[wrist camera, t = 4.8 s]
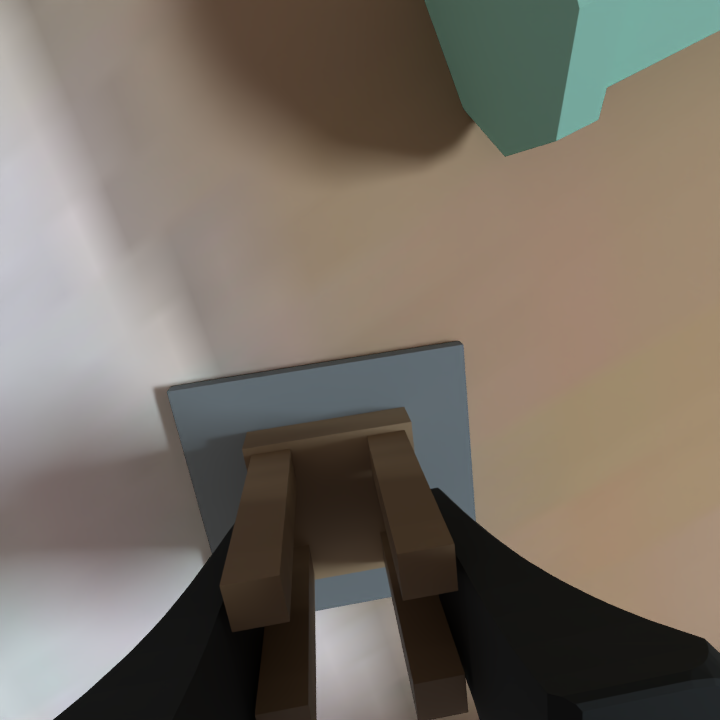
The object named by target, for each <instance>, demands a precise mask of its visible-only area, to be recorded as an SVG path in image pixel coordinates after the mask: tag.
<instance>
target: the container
mask: <svg viewBox="0 0 720 720" xmlns="http://www.w3.org/2000/svg"><path fill="white" fill-rule="evenodd" d="M424 1H425V4H426V6H427V9H428V12H429V15H430V17H431V20H432V23H433V26H434V29H435V31H436V34H437V37H438V40H439V42H440V45H441V48H442V51H443V53H444V56H445V59H446V62H447V65H448V67H449V70H450V73H451V76H452V78H453V81H454V84H455V87H456V89H457V92H458V95H459V98H460V101H461V103H462V106H463V109H464V110H465V111H466V112H467V114H468V115H469V116H470V117H471V118H472V119H473V120H474V122H475V123H476V124H477V125H478V126H479V127H480V128H481V130H482V131H483V132H484V133H485V134H486V135H487V137H488V138H489V139H490V140H491V141H492V142H493V143H494V145H495V146H496V147H497V148H498V149H499V150H500V151H501V153H502V154H503V155H504V156H505V157H506V156H509V155H512V154H515V153H519V152H522V151H525V150H529V149H532V148H535V147H538V146H542V145H545V144H548V143H551V142H555V141H557V140H559V139H561V138H563V137H565V136H567V135H569V134H571V133H573V132H575V131H577V130H579V129H581V128H583V127H585V126H587V125H589V124H591V123H593V122H595V121H597V120H598V119H599V115H600V112H601V108H602V104H603V100H604V96H605V93H606V89H607V87H609V86H611V85H613V84H615V83H617V82H619V81H621V80H623V79H625V78H627V77H629V76H631V75H633V74H635V73H637V72H639V71H640V70H642V69H644V68H646V67H648V66H650V65H652V64H654V63H656V62H658V61H660V60H662V59H664V58H666V57H668V56H670V55H672V54H674V53H676V52H678V51H680V50H682V49H684V48H686V47H688V46H690V45H692V44H694V43H696V42H698V41H700V40H702V39H704V38H705V37H707V36H709V35H711V34H713V33H715V32H717V31H719V30H720V0H424Z"/></svg>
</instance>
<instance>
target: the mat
mask: <svg viewBox="0 0 720 720" xmlns="http://www.w3.org/2000/svg"><path fill="white" fill-rule="evenodd" d="M167 394H168V397H169V401H170V405H171V408H172V412H173V415H174V419H175V423H176V426H177V430H178V433H179V437H180V441H181V444H182V448H183V451H184V455H185V458H186V462H187V466H188V469H189V473H190V476H191V480H192V484H193V487H194V491H195V494H196V498H197V502H198V505H199V509H200V512H201V516H202V519H203V523H204V527H205V530H206V534H207V537H208V541H209V545H210V548H211V552H212V554H213V552H214V551H215V550H216V548H217V547H218V545H219V544H220V542H221V541H222V540H223V538H224V537H225V535H226V534H227V532H228V531H229V530H230V528H231V527H232V526H233V524H234V523H235V520H236V516H237V512H238V508H239V504H240V500H241V496H242V491H243V487H244V483H245V479H246V475H247V469H246V465H245V460H244V456H243V452H242V448H243V444H244V441H245V437H246V434H247V432H251V431H257V430H263V429H270V428H276V427H282V426H288V425H294V424H301V423H307V422H313V421H319V420H325V419H332V418H338V417H344V416H350V415H357V414H363V413H369V412H375V411H381V410H388V409H394V408H400V407H404V408H405V410H406V412H407V414H408V416H409V418H410V420H411V423H412V432H413V442H414V451H415V455H416V457H417V459H418V462H419V464H420V466H421V469H422V471H423V473H424V475H425V478H426V480H427V482H428V485H429V487H430V489H432V488H439V489H441V490H442V491H443V492H444V493H445V494H446V495H447V496H448V497H449V498H450V499H451V500H452V501H453V502H454V503H455V504H457V505H458V506H459V507H460V508H461V509H462V510H463V511H464V512H465V513H466V514H468V515H469V516H470V517H471V518H472V519H473V520H474V521H476V519H475V505H474V490H473V476H472V462H471V447H470V433H469V419H468V405H467V390H466V376H465V362H464V347H463V344H462V343H461V342H460V341H454V342H448V343H442V344H436V345H429V346H423V347H417V348H410V349H404V350H398V351H392V352H385V353H379V354H373V355H366V356H360V357H354V358H347V359H341V360H335V361H329V362H322V363H316V364H310V365H303V366H297V367H291V368H284V369H278V370H272V371H266V372H259V373H253V374H247V375H240V376H234V377H228V378H222V379H215V380H209V381H203V382H196V383H190V384H184V385H177V386H171V387H170V389H169V390H168V391H167ZM387 597H392V596H391V591H390V587H389V582H388V577H387V573H386V568H385V567H383V568H377V569H372V570H366V571H361V572H355V573H350V574H344V575H338V576H333V577H327V578H322V579H316V580H315V611H318V610H323V609H329V608H334V607H339V606H345V605H350V604H355V603H361V602H366V601H371V600H377V599H382V598H387Z"/></svg>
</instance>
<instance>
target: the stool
mask: <svg viewBox="0 0 720 720" xmlns="http://www.w3.org/2000/svg"><path fill="white" fill-rule="evenodd" d="M242 452H243V456H244V460H245V465H246V469H247V475H246V479H245V483H244V487H243V491H242V496H241V500H240V504H239V508H238V512H237V516H236V520H235V524H234V528H233V532H232V537H231V541H230V545H229V549H228V553H227V557H226V561H225V565H224V569H223V574H222V578H221V582H220V590H221V593H222V597H223V601H224V604H225V608H226V612H227V615H228V619H229V623H230V626H231V630H232V632H237V631H242V630H247V629H253V628H258V627H264V626H265V627H264V636H263V645H262V654H261V664H260V673H259V682H258V691H257V700H256V709H255V718H256V720H316V644H315V580H316V579H322V578H327V577H333V576H338V575H344V574H350V573H355V572H361V571H366V570H372V569H377V568H383V567H385V568H386V573H387V577H388V582H389V587H390V591H391V596H392V601H393V605H394V610H395V615H396V620H397V624H398V629H399V634H400V638H401V643H402V648H403V652H404V657H405V662H406V667H407V671H408V676H409V681H410V685H411V690H412V695H413V699H414V704H415V709H416V714H417V718H418V720H431V719H436V718H441V717H446V716H451V715H456V714H461V713H466V712H468V704H467V691H466V679H465V673H464V670H463V667H462V664H461V661H460V658H459V655H458V652H457V649H456V646H455V643H454V640H453V637H452V634H451V631H450V628H449V625H448V622H447V619H446V616H445V613H444V610H443V607H442V604H441V601H440V598H439V595H438V594H443V593H448V592H454V591H458V581H457V569H456V556H455V544H454V542H453V539H452V537H451V535H450V533H449V530H448V528H447V526H446V523H445V521H444V519H443V517H442V514H441V512H440V510H439V507H438V505H437V503H436V501H435V498H434V496H433V494H432V491H431V489H430V487H429V485H428V482H427V480H426V478H425V475H424V473H423V471H422V469H421V466H420V464H419V462H418V459H417V457H416V455H415V451H414V442H413V432H412V423H411V420H410V418H409V416H408V414H407V412H406V410H405V408H404V407H400V408H394V409H388V410H381V411H375V412H369V413H363V414H357V415H350V416H344V417H338V418H332V419H325V420H319V421H313V422H307V423H301V424H294V425H288V426H282V427H276V428H270V429H263V430H257V431H251V432H247V434H246V437H245V441H244V444H243V448H242Z"/></svg>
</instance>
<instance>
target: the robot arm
mask: <svg viewBox="0 0 720 720" xmlns="http://www.w3.org/2000/svg"><path fill="white" fill-rule="evenodd" d="M431 491H432V494H433V496H434V498H435V501H436V503H437V505H438V507H439V510H440V512H441V514H442V517H443V519H444V521H445V523H446V526H447V528H448V530H449V533H450V535H451V537H452V539H453V542H454V544H455V556H456V569H457V581H458V591H454V592H448V593H443V594H438V595H439V598H440V601H441V604H442V607H443V610H444V613H445V616H446V619H447V622H448V625H449V628H450V631H451V634H452V637H453V640H454V643H455V646H456V649H457V652H458V655H459V658H460V661H461V664H462V667H463V670H464V673H465V678H466V680H467V683H468V686H469V688H470V691H471V694H472V697H473V700H474V703H475V706H476V709H477V713H478V716H479V719H480V720H720V653H719V652H718V651H717V650H716V649H715V648H714V647H713V646H712V645H711V644H710V643H708V642H707V641H706V640H705V639H704V638H701V637H698V636H695V635H692V634H689V633H686V632H683V631H680V630H677V629H674V628H671V627H668V626H665V625H662V624H659V623H656V622H653V621H650V620H648V619H645V618H642V617H640V616H637V615H635V614H632V613H630V612H628V611H625V610H623V609H620V608H618V607H615V606H613V605H611V604H608V603H606V602H604V601H602V600H599V599H597V598H595V597H593V596H591V595H589V594H587V593H585V592H583V591H581V590H579V589H577V588H575V587H573V586H571V585H569V584H567V583H565V582H563V581H561V580H559V579H558V578H556V577H554V576H552V575H550V574H549V573H547V572H545V571H544V570H542V569H540V568H539V567H537V566H535V565H534V564H532V563H530V562H529V561H527V560H526V559H524V558H523V557H521V556H520V555H518V554H517V553H515V552H514V551H513V550H511V549H510V548H509V547H507V546H506V545H504V544H503V543H502V542H500V541H499V540H498V539H496V538H495V537H494V536H493V535H491V534H490V533H489V532H488V531H486V530H485V529H484V528H483V527H482V526H480V525H479V524H478V523H477V522H476V521H474V520H473V519H472V518H471V517H470V516H469V515H468V514H466V513H465V512H464V511H463V510H462V509H461V508H460V507H459V506H458V505H457V504H455V503H454V502H453V501H452V500H451V499H450V498H449V497H448V496H447V495H446V494H445V493H444V492H443V491H442V490H441V489H439V488H432V489H431ZM234 524H235V523H234ZM234 524H233V526H232V527H231V528H230V530H229V531H228V532H227V534H226V535H225V537H224V538H223V540H222V541H221V542H220V544H219V545H218V547H217V548H216V550H215V551H214V552H213V554H212V555H211V557H210V558H209V559H208V561H207V562H206V564H205V565H204V566H203V568H202V569H201V570H200V572H199V573H198V574H197V576H196V577H195V578H194V580H193V581H192V582H191V584H190V585H189V586H188V588H187V589H186V590H185V591H184V593H183V594H182V595H181V596H180V597H179V599H178V600H177V601H176V602H175V604H174V605H173V606H172V607H171V608H170V610H169V611H168V612H167V613H166V615H165V616H164V617H163V618H162V619H161V620H160V621H159V622H158V623H157V625H156V626H155V627H154V628H153V629H152V630H151V631H150V632H149V633H148V634H147V635H146V636H145V637H144V638H143V639H142V640H141V641H140V642H139V644H138V645H137V646H136V647H135V648H134V649H133V650H132V651H131V652H130V653H129V654H128V655H127V656H126V657H125V658H123V659H122V660H121V661H120V662H119V663H118V664H117V665H116V666H115V667H114V668H113V669H111V670H110V671H109V672H108V673H107V674H106V675H105V676H104V677H103V678H102V679H100V680H99V681H98V682H97V683H96V684H95V685H94V686H93V687H92V688H91V689H90V690H88V691H87V692H86V693H85V694H84V695H83V696H81V697H80V698H79V699H78V700H77V701H75V702H74V703H73V704H72V705H71V706H69V707H68V708H67V709H66V710H65V711H63V712H62V713H61V714H60V715H58V716H57V717H56V718H55V719H53V720H256V718H255V709H256V700H257V691H258V682H259V673H260V664H261V654H262V645H263V636H264V627H265V626H264V627H258V628H253V629H247V630H242V631H237V632H232V630H231V626H230V623H229V619H228V615H227V612H226V608H225V604H224V601H223V597H222V593H221V590H220V582H221V578H222V574H223V569H224V565H225V561H226V557H227V553H228V549H229V545H230V541H231V537H232V532H233V528H234Z"/></svg>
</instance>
